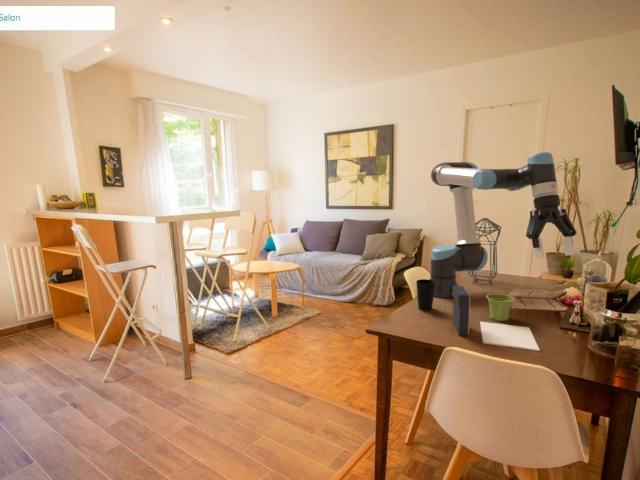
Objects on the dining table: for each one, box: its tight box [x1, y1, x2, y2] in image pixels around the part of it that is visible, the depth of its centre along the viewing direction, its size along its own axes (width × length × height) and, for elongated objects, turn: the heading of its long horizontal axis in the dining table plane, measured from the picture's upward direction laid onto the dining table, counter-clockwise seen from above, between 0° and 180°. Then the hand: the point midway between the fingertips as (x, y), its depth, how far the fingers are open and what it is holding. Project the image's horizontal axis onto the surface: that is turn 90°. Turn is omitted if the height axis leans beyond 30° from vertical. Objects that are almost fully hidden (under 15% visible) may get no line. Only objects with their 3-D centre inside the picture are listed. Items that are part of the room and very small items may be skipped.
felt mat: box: [479, 321, 541, 352], centre depth 114 cm, size 18×16×1 cm
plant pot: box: [486, 293, 515, 322], centre depth 128 cm, size 9×9×9 cm
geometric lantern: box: [467, 217, 502, 285], centre depth 176 cm, size 16×16×35 cm
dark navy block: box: [452, 285, 471, 337], centre depth 119 cm, size 11×4×15 cm, turn 168°
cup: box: [416, 278, 435, 312], centre depth 141 cm, size 8×8×12 cm
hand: (555, 256), depth 113 cm, fingers open, 13 cm apart
